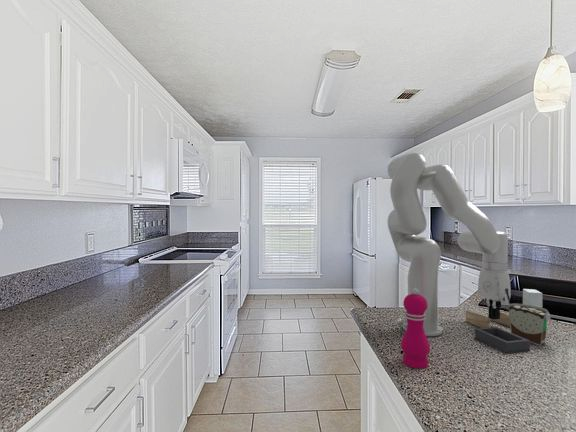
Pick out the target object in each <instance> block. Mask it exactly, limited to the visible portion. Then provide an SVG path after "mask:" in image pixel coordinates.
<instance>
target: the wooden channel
mask: <svg viewBox="0 0 576 432" xmlns="http://www.w3.org/2000/svg"><path fill="white" fill-rule="evenodd" d="M491 321H493V322H495V323H497V324H498V323H499V324H501V325H504V326H506V327H509V328H510V317H509V313H507V312H505V311H501V310H500V319H495V320H492V319H490V318H489V317H488V316H485V315H484V314H483V315H482V314H480V313H477V312H475V311H472V310H470V309H467V310H465V322H467V323H469V324H472V325H474V326H476V327H477V328H488V327H491Z"/></svg>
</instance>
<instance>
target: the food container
mask: <svg viewBox="0 0 576 432" xmlns="http://www.w3.org/2000/svg"><path fill="white" fill-rule="evenodd" d="M506 310H507V311H508V314H509V317H510V327H509V329H510V333H513V334H515V335H518V336H520V337H523V338H525V339H528V340H530V343H532V344H535V345H538V346H541V347H543V346H544V345H545V344H546V337H547V328H548V321H551V316H550V312H549V310H548V309H546V308H543V307H542V308H541V307H537V306H532V305H526V304H523V303H509V304H508V305H507V307H506Z"/></svg>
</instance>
